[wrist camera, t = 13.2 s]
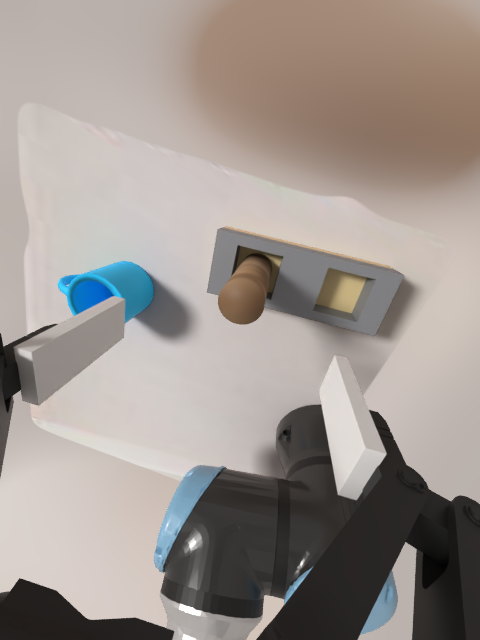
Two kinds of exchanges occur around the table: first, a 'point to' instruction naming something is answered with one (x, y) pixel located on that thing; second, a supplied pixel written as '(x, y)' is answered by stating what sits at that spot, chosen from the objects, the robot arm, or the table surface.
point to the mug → (109, 288)
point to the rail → (310, 280)
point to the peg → (246, 290)
